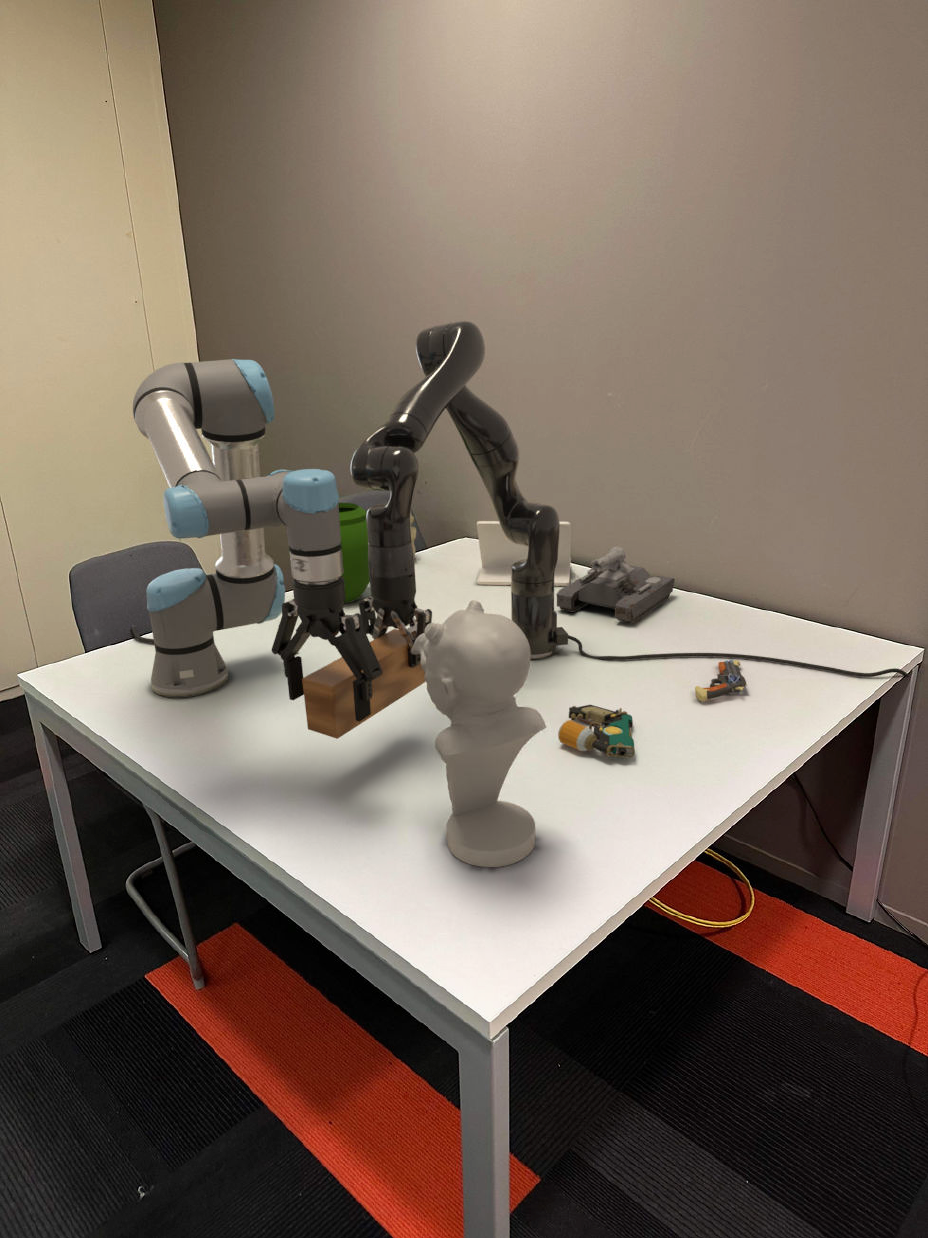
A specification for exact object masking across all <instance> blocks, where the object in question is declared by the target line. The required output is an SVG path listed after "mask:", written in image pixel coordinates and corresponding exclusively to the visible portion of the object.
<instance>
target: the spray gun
mask: <svg viewBox="0 0 928 1238" xmlns="http://www.w3.org/2000/svg"><path fill="white" fill-rule="evenodd" d="M568 719H569V720H566V721H565V722H563V723H562V724H561V726H560V727H559V729H558V731H557V737H558V741H559V742H560V743H561V744H563V745H566V746H567V747H571V748H573V749H575V750H578V751H580V752H587V751H593V750H597V751H598V752H601V753H603V754H605V755H606V756H607V757H608V758H610V757H617V758H618V757H619V758H630V759H631V758H633V757H635V753H636V750H635V740H634V738H633V734H632V729H631V728H632V727H633V724H634V722H633V721H634V720H633V716H632V715H631V714H629V713H628V712H627V711H625V710H624V711H623V709H622V708H621V707H620V708H619V709H615V711H614V710H611V709H608V708H605V707H600V706H597V705H593V704H587V705H582V706H576V705H572V706H571V707H569V709H568ZM575 720H577V721H578V722H580V723H582V724H583V725H582V724H580V723H578V722H576V721H575ZM584 724H585V725H588V727H587V726H584Z"/></svg>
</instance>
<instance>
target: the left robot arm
mask: <svg viewBox="0 0 928 1238" xmlns="http://www.w3.org/2000/svg"><path fill="white" fill-rule="evenodd" d="M275 414H276V411H275V403H274V397H273V393H272V389H271V385H270V383H269V380H268V378H267V375H266V373H265V371H264V369H263V368H262V365H260V364H259V363H258V362H257V361H255V360H253V359H235V358H230V359H218V360H206V361H191V362H172V363H170V364H166V365H163V366H161V367H159V368H157V369H155V370H154V371H153V372H151V373H150V374H148V375H147V376H146V377H145V378H144V379H143V381H142V382H141V383H140V384H139V386H138V388H137V390H136V391H135V393H134V397H133V401H132V415H133V419H134V422H135V424H136V427H137V430H139V432H140V433H141V434H142V436H143V437H145V438H146V439H148V440H149V442H150V444H151V447H152V449H153V451H154V454H155V456H156V459H157V460H158V463H159V465H160V467H161V470H162V472H163V475H164V477H165V479H166V483H167V484H168V486H169V488H167V489H165V490H164V492H163V496H162V499H163V509H164V513H165V514H164V516H165V520H166V523H167V527H168V530H169V533H170V534H171V536H172V537H174V538H175V539H180V540H181V539H191V538H192V539H193V538H196V539H202V538H205V537H211V536H217V535H219V537H220V538H219V539H220V548H221V549H220V550H221V556H220V558H219V559H217V561H215V567H214V568H215V573H210V574H206V572H205V571H204V570H203V569H201V568H199V567H192V568H180V569H175V570H171V571H169V572H166V573H163V574H161V575H159V576H157V577H156V578H154V579H153V580H151V581H150V583H148V585H147V587H146V591H145V592H146V603H147V604H146V609H147V611H148V613H149V619H150V626H151V631H152V638H148V637H143V636H140V635H139V634H138V632H137V629H136V628H137V627H136V625H134V624H132V625H131V626H130V631H131V633H132V635H133V636H134V638H135V640H136V641H137V640H138V641H139V642H142V643H148V644H154V650H155V654H154V660H153V664H152V665H153V666H152V671H151V675H150V676H151V677H150V684H151V689H152V691H153V693H155V694H157V695H159V696H161V697H167V698H190V697H196V696H201V695H204V694H207V693H210V692H213V691H215V690H217V689H219V688H220V687H222V686H224V684H226V682H227V681H228V679H229V672H228V671H229V670H228V667H227V664H226V662H225V661H224V659H223V657H222V655H221V653H220V650H219V649H218V647H217V646H216V643H215V637H214V632H217V631H218V632H219V631H222V630H228V629H229V630H230V629H233V628H234V629H235V628H238V627H244V626H251V625H255V624H256V625H257V624H258V625H260V624H264V623H265V622H269V621H273V620H276V619H278V617H280V616H281V619H280V621H279V624H278V628H277V631H276V634H275V637H274V640H273V644H272V647H271V653H272V655H279V656H280V659H281V660H282V661H283V668H284V669H283V670H284V676H285V678H286V679H287V686H288V698H289V700H290V701H295V700H297V699H298V698H300V697H302V696H304V691H303V682H302V678H304V671H303V661H302V656H299V654H300V651H301V649H302V648H303V646H304V644H305V643H306V642H307V640H308V639H309V638H310V637H312V638H319V639H321V640H324V641H327V642H328V643H329V644H330V645H331V646H332V647H334V648H335V649H336V650H337V651H338V653H339V655H340V656H341V657H342V658H343V659H344V661H345V662H346V664H347V665H348V667H349V668H350V670H351V671H352V673H353V674H354V676H355V677H356V680H354V681H353V692H354V705H355V718H356V721H359V722H360V721H362V720H363V719H365V718H366V717H368V716H369V715H371V708H370V699H371V698H372V696H373V692H372V680H374V679H376V678H377V677H379V676H381V675H382V674H383V671H382V669H381V667H380V664H379V662H378V660H377V657H376V655H375V653H374V651H373V648H372V646H371V644H370V642H371V641H370V640H369V637H368V634H366V633H365V630H364V628H363V622H362V616H361V615H360V612H359V613H358V612H357V613H355V614H351V615H350V614H346V613H345V611H344V604H345V603H344V601H345V584H344V578H343V577H342V576H341V575H342V574H343V573H344V569H343V559H342V548H341V534H340V519H339V505H338V503H340V494H339V492H338V487H337V485H338V484H337V480H336V479H337V478H336V476H335V474H334V473H333V472H331V471H329V470H326V469H320V468H304V469H296V470H289V469H277V470H274V471H272V472H270V473H269V474H268V475H266V476H261V468H260V466H261V465H260V453H259V451H260V450H259V443H260V441H261V440H263V438H265V437H266V424H267V425H269V424H270V423H273V422H274V421H275ZM198 430H201V436H202V438H203V439H204V440H206V441H207V442H208V443H209V444H210V445H211V455H212V458H211V456H210V453H209V452H208V450H207V448H206V446H205V444H204V441H203V440H202V439H201V436H200V434H199V432H198ZM281 526H285V527H286V532H287V540H288V550H289V551H288V552H289V561H290V570H291V576H292V578H293V580H292V593H293V598H292V599H290V600H288V601H286V586H285V579H284V574H283V571H282V569H281V567H280V566H279V565H278V564H275V562H274V559H273V558H272V557H271V556H270V555H268V554H267V553H266V542H265V541H266V539H265V529H266V528H267V529H268V528H273V527H281ZM298 618H299V620H300V621H301V622H300V624H299V625H298V626H297V628H296V625H297V622H298ZM295 628H296V629H295ZM294 631H295V633H294ZM339 633H340V635H338V634H339ZM293 634H294V635H293ZM361 670H363V673H362V672H361Z"/></svg>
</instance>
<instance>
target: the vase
mask: <svg viewBox="0 0 928 1238" xmlns="http://www.w3.org/2000/svg"><path fill="white" fill-rule="evenodd" d="M338 505H339V519H340V534H341V548H342V559H343V569H344V573H343V574H342V575H341V576H342V577H343V578H344V584H345V601H344V604H349V603H352V602H355V601H357V600H358V599H360V598H361V597H363V594H365V592H366V590H367V588H368V586H369V585H370V579H369V566H368V533H367V521H366V515H367V511H368V510H366V509H364V508H363V507H362V506H361V505H359V504H356V503H352V502H338Z"/></svg>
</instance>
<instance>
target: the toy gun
mask: <svg viewBox="0 0 928 1238" xmlns="http://www.w3.org/2000/svg"><path fill="white" fill-rule="evenodd" d="M741 666H742V665H741V661H740V660H738V659H735V660H733V659H730V660H724V661H719V662H718V671H719V673H716V674H717V678H713V679H711V680H710V682H711V683H710V684H709V687H701V686H699V685H696V686H694V692H695V697H696V699H697V700H698V701H699V702H706V701H708V700H709V701H710V700H713V699H716V698H720V697H723V696H726V695H729V694H733V693H734V692H736V691H740V692H743V691H744V689H745V687H747V686H749V685H748V684H747V681H746V678H745V677H744V676H743V674H742V673H741V669H740V667H741Z"/></svg>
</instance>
